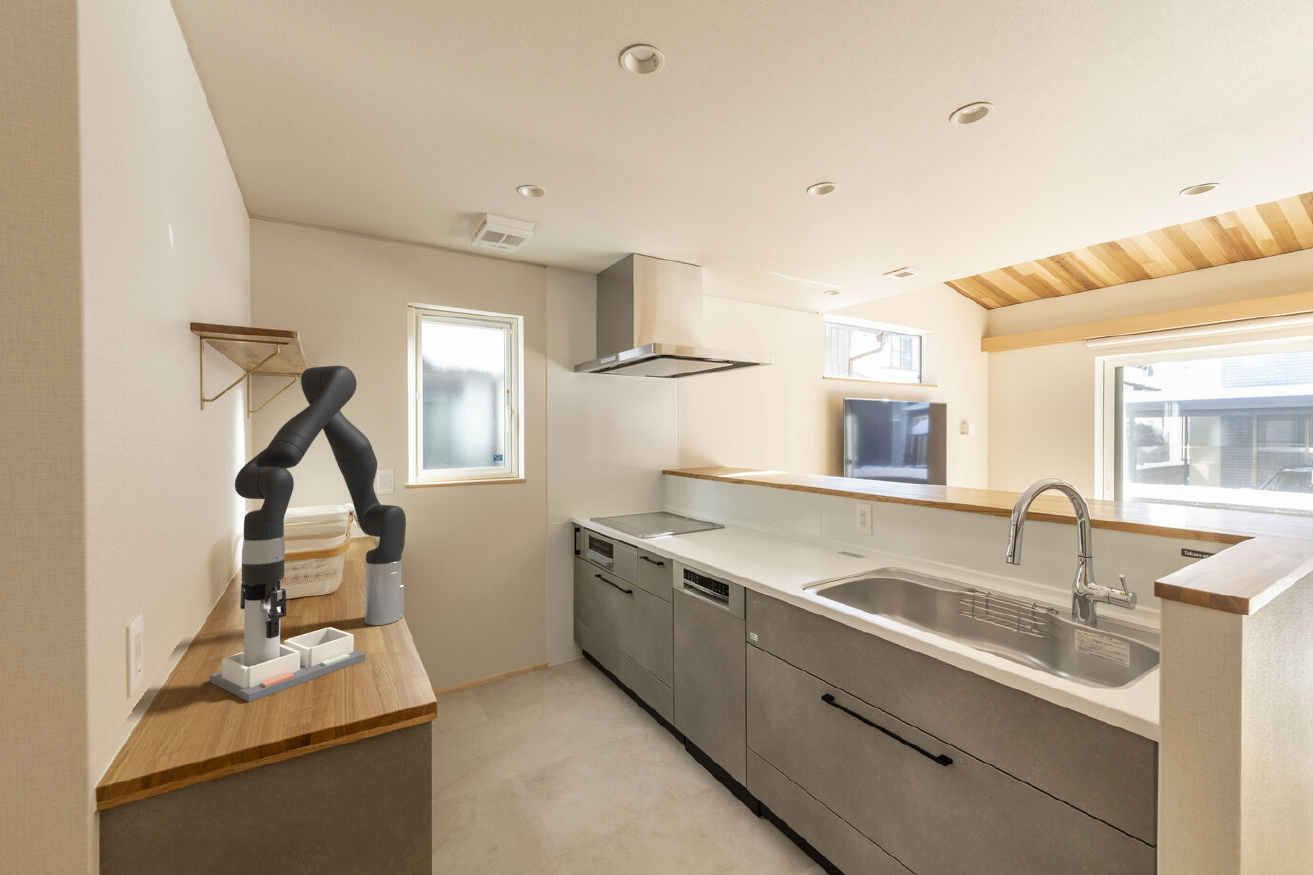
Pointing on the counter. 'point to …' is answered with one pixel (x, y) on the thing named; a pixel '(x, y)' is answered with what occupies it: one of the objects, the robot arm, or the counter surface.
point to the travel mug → (258, 629)
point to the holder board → (289, 664)
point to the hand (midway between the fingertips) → (262, 633)
